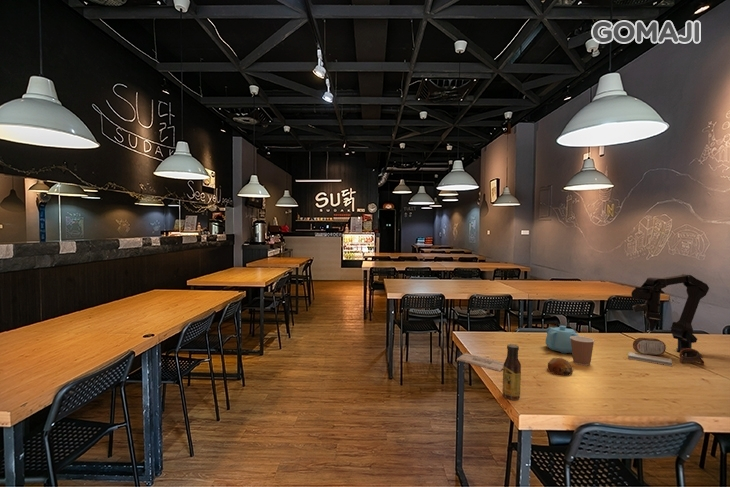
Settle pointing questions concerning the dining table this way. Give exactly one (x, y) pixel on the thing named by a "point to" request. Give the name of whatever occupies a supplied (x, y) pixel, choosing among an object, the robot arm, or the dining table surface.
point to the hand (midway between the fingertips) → (650, 329)
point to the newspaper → (481, 362)
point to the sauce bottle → (512, 373)
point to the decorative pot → (560, 339)
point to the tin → (649, 346)
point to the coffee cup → (582, 349)
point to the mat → (650, 358)
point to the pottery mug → (690, 356)
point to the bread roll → (560, 366)
